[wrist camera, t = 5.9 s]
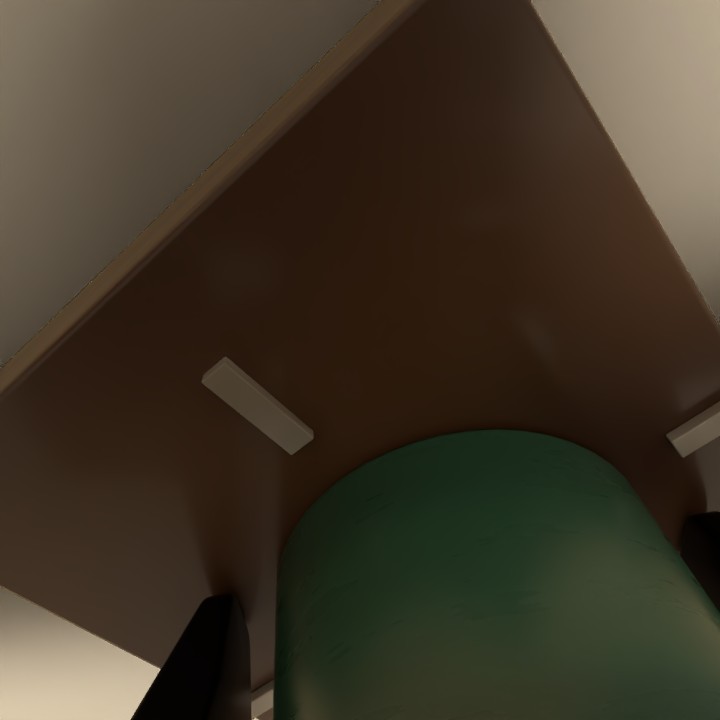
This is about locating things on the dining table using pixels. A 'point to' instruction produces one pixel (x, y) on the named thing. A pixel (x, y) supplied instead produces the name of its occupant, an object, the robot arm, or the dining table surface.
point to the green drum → (489, 593)
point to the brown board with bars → (352, 328)
